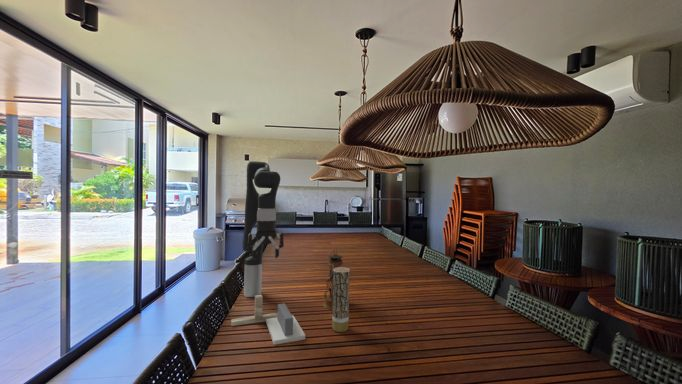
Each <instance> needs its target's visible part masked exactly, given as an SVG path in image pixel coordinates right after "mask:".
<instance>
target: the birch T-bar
mask: <svg viewBox="0 0 682 384" xmlns="http://www.w3.org/2000/svg"><path fill="white" fill-rule="evenodd" d="M263 301H264V297H263V295H262V294H261V295H255V297H254V312H253V313H254V315H251V316H245V317H243V316H242V317H238V318H237V317H236V318H231V319H230V322H231V323H230V326H231V327H235V326H243V325H248V324H255V323H261V322H266V319H269V318H276V317H277V314H278V312H273V313H266V314H263V304H264V303H263Z"/></svg>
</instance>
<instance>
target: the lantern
mask: <svg viewBox="0 0 682 384" xmlns="http://www.w3.org/2000/svg"><path fill="white" fill-rule="evenodd" d="M335 250H336V249H334V251H333V252H334V254H331V255H328V258H329V260H328V268H327V270H328V271H329V273H328V276H327V277H328V278H329V279H327V280H326V281H325V285H326V286H327V287H326V288H325V292H324V302H323V303H322V306H323V308H325V309H326V310H331V311H333V273H334V268H336V267H344V264H343V260H342V258H343V256H342V255H340V254H338V253H337V252H336V251H335ZM328 293H329V294H328Z"/></svg>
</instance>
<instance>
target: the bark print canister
mask: <svg viewBox="0 0 682 384" xmlns="http://www.w3.org/2000/svg"><path fill="white" fill-rule="evenodd" d="M350 274H351V273H350V268H349V267H345V266H343V267H336V268H334V273H333V310H332V317H331V318H332V322H331V323H332V325H331V326H332V330H333V331H334V332H336V333H343V332H344V333H345V332H346V331H348V330H349V321H350V320H349V319H350V318H349V317H350V316H349V315H350V278H351V275H350Z"/></svg>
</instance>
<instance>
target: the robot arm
mask: <svg viewBox="0 0 682 384" xmlns="http://www.w3.org/2000/svg"><path fill="white" fill-rule="evenodd" d="M246 165H247V166H246V195H245V205H244V206H245V207H244V227H243V236H242V251H244V252H245V253H246V252H248V253H249V252H250V253H251V256H248V257H246V258H245V259H244V275H243V279H244V281H243V282H244V283H243V296H244V297H246V298H255V295H262V276H263V275H262V274H263V268H262V267H263V249H264V247H263V246H264V245H266V244H267V245H271V244H272V245H273V246H274V258H275V259H278V258H279V256H280V249H282V248H284V246H285V245H284V233H283V232H276V227H277V226H276V225H277V223H276V221H277V213H276V212H277V211H276V198H277V194H278V190H279V186H280V182H281V175H280V174H279V172H277V171H271V168H270V165H269V163H267V162H265V161H253V160H252V161H251V160H250V161H248V163H247V164H246ZM256 188H259V189H270V190H269V191H268V192H267V193H261V194H259V192H258V191H257V189H256ZM255 225H256V233H252V231H253V228H254V227H255ZM276 238H278V239H279V244H277V242H276V241H275V239H276Z"/></svg>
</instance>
